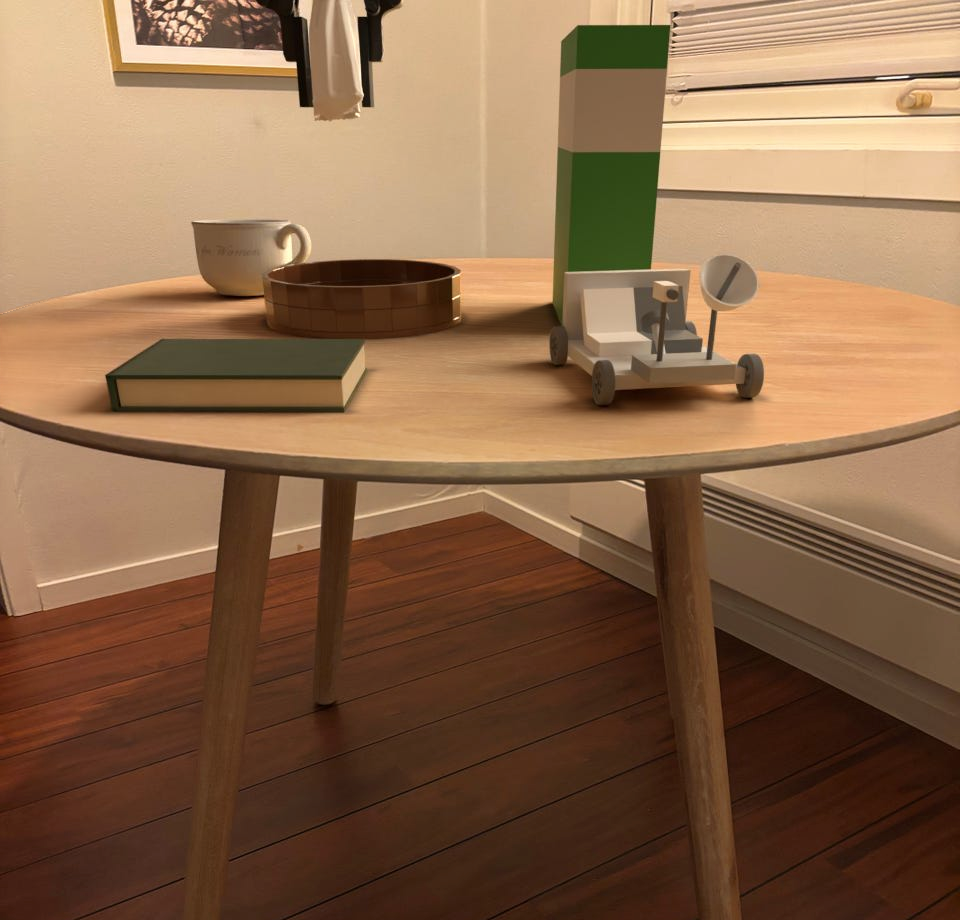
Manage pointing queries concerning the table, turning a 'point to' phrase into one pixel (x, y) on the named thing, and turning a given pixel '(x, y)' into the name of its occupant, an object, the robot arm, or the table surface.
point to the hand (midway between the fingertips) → (337, 106)
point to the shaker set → (335, 60)
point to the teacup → (245, 252)
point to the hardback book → (608, 148)
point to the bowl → (362, 298)
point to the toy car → (653, 328)
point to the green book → (239, 376)
